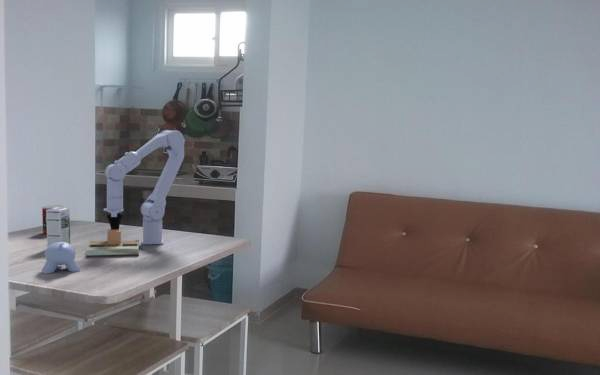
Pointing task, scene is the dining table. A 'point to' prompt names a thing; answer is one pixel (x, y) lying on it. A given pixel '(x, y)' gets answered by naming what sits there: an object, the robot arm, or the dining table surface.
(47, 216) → the syrup box
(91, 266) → the dining table surface
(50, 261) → the hippopotamus toy
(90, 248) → the board
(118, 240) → the terracotta cube
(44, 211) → the canned food
